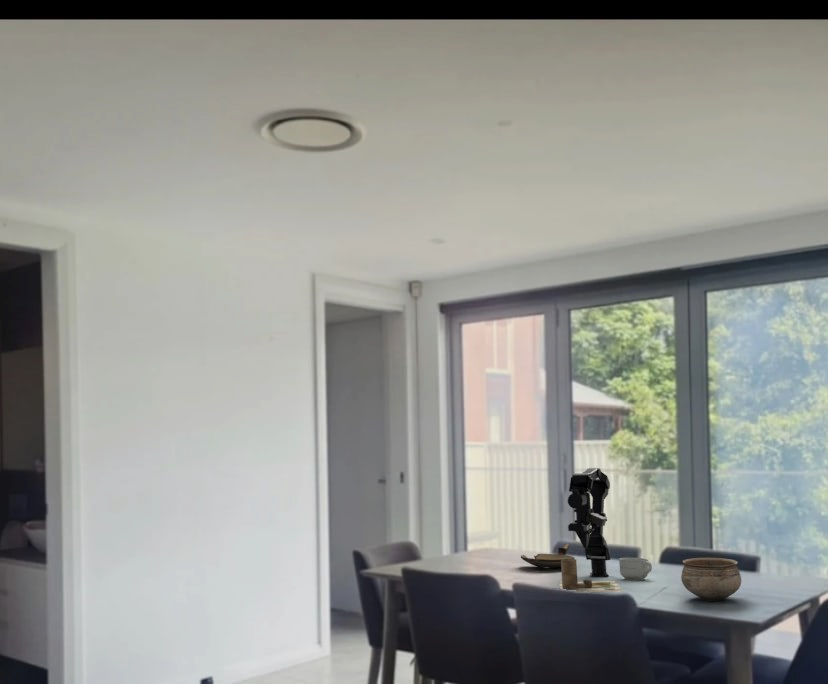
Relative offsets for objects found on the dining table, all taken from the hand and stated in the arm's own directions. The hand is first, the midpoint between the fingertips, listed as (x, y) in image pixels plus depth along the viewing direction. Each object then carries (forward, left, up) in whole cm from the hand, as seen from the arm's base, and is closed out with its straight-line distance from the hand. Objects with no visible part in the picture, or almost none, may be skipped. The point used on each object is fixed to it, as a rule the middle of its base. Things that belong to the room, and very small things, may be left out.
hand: (585, 547), depth 307 cm
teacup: (-4, +19, -13) cm, 23 cm away
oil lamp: (-39, -11, -13) cm, 43 cm away
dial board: (+13, 0, -13) cm, 18 cm away
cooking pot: (+33, +38, -13) cm, 52 cm away
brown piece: (+15, -1, -12) cm, 19 cm away
